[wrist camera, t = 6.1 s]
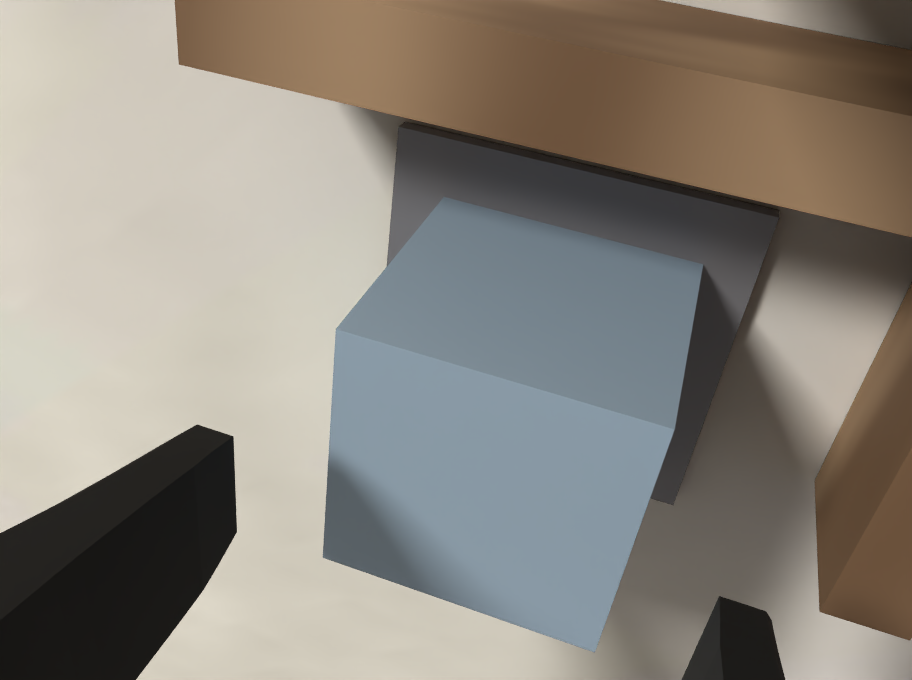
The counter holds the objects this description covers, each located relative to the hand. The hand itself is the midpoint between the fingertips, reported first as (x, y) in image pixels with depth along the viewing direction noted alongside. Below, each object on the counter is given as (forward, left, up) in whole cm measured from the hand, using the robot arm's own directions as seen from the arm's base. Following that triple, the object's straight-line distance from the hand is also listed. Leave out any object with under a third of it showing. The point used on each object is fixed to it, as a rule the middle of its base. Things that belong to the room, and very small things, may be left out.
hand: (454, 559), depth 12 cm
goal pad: (0, 0, -7) cm, 7 cm away
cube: (0, 0, -6) cm, 6 cm away
